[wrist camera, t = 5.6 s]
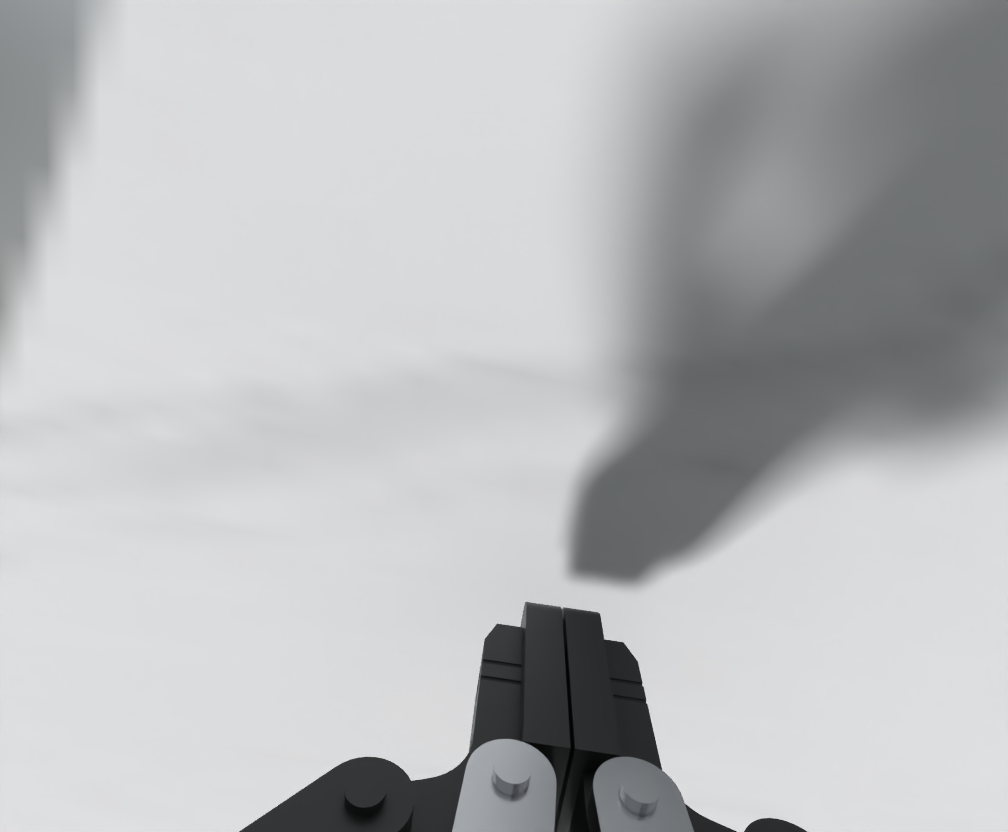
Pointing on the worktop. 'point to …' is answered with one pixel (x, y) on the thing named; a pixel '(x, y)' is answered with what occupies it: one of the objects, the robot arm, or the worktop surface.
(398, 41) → the worktop surface
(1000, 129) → the worktop surface
